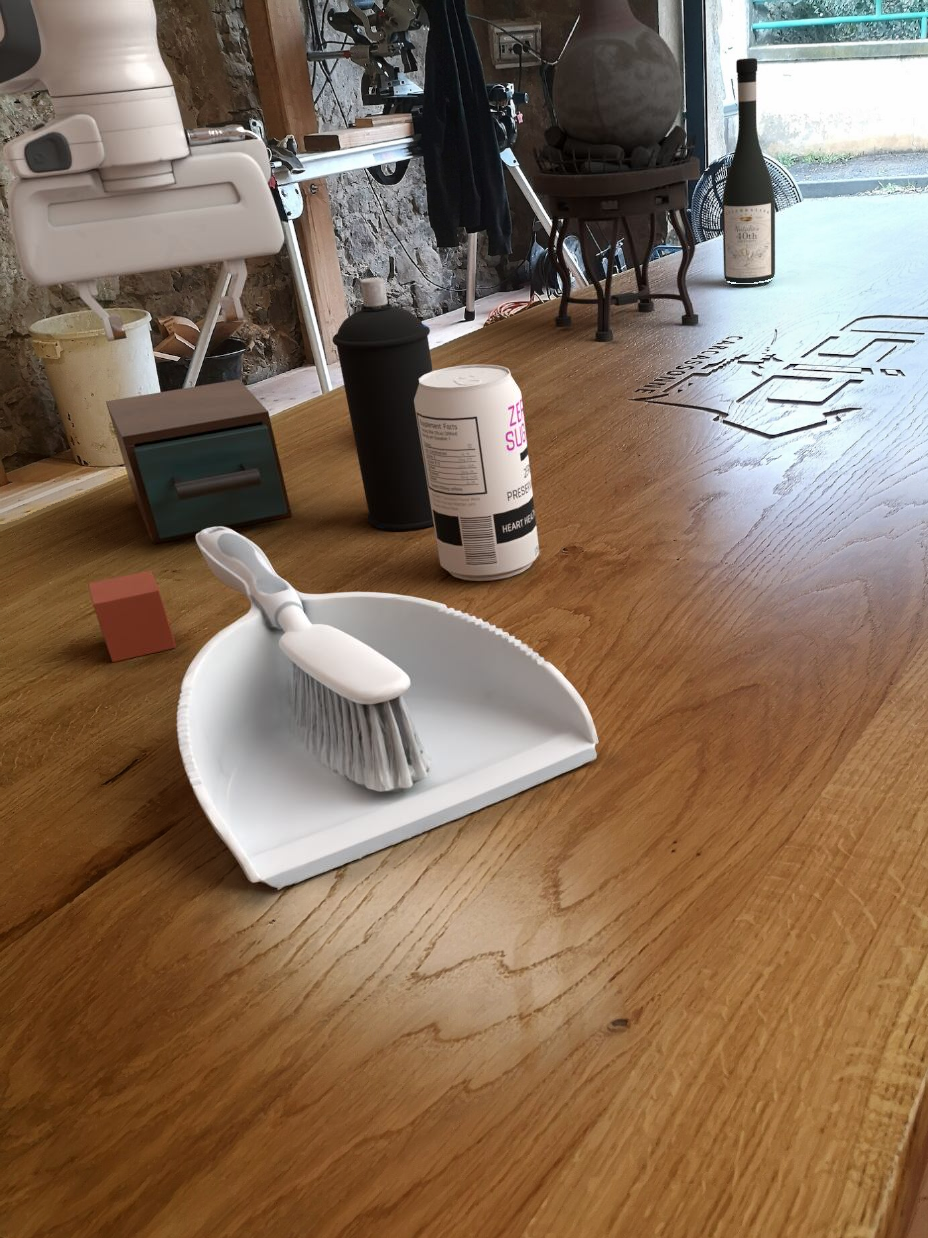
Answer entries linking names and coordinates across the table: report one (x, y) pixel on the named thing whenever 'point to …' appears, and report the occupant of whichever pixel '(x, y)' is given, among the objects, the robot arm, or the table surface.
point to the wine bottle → (748, 195)
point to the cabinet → (185, 430)
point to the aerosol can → (386, 406)
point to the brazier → (616, 150)
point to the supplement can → (477, 471)
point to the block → (131, 616)
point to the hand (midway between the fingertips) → (176, 329)
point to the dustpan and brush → (359, 719)
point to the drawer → (210, 479)
